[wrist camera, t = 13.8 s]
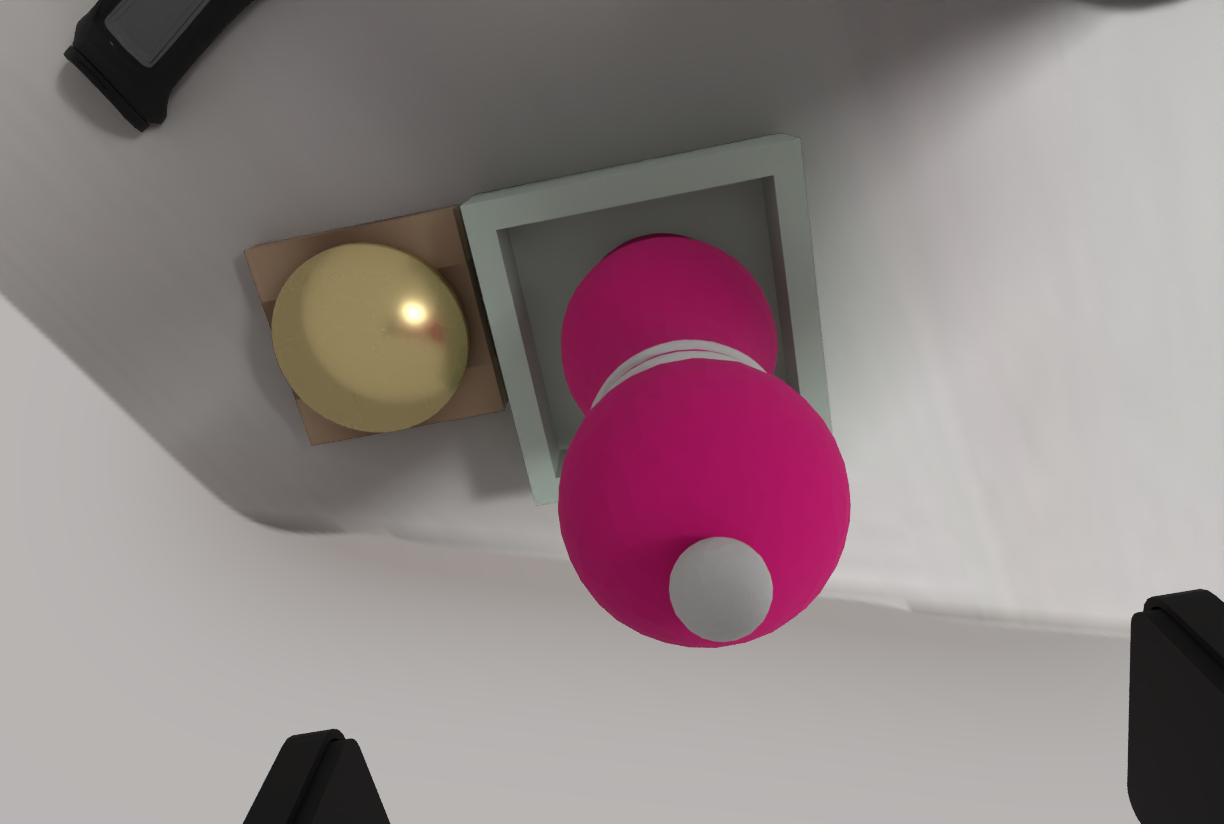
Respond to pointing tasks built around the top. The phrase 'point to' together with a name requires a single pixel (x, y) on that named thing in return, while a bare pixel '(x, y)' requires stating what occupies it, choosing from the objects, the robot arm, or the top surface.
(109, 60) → the electric trimmer
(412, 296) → the gold disc
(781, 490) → the pepper mill
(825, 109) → the top surface
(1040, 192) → the top surface
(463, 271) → the checker plinth
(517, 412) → the trough tray
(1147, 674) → the robot arm
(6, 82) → the top surface
